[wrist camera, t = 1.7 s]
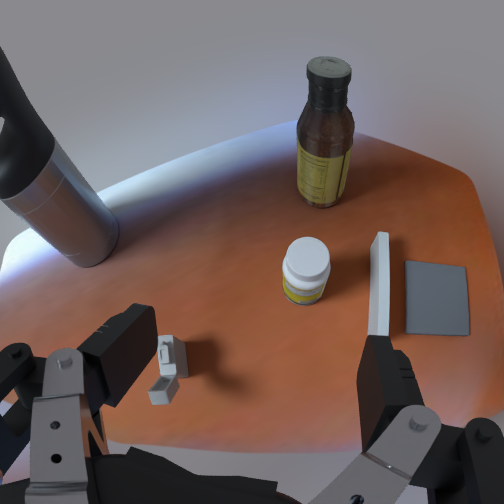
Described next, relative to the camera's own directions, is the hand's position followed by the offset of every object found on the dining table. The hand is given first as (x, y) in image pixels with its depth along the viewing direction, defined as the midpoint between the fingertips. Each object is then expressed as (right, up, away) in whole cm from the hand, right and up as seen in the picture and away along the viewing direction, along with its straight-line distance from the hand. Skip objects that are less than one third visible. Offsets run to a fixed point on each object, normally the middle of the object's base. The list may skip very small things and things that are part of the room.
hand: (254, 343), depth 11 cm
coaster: (+22, -2, +22) cm, 32 cm away
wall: (+14, -2, +23) cm, 27 cm away
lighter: (-8, -10, +22) cm, 25 cm away
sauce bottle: (+9, +11, +30) cm, 34 cm away
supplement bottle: (+6, -1, +25) cm, 25 cm away
